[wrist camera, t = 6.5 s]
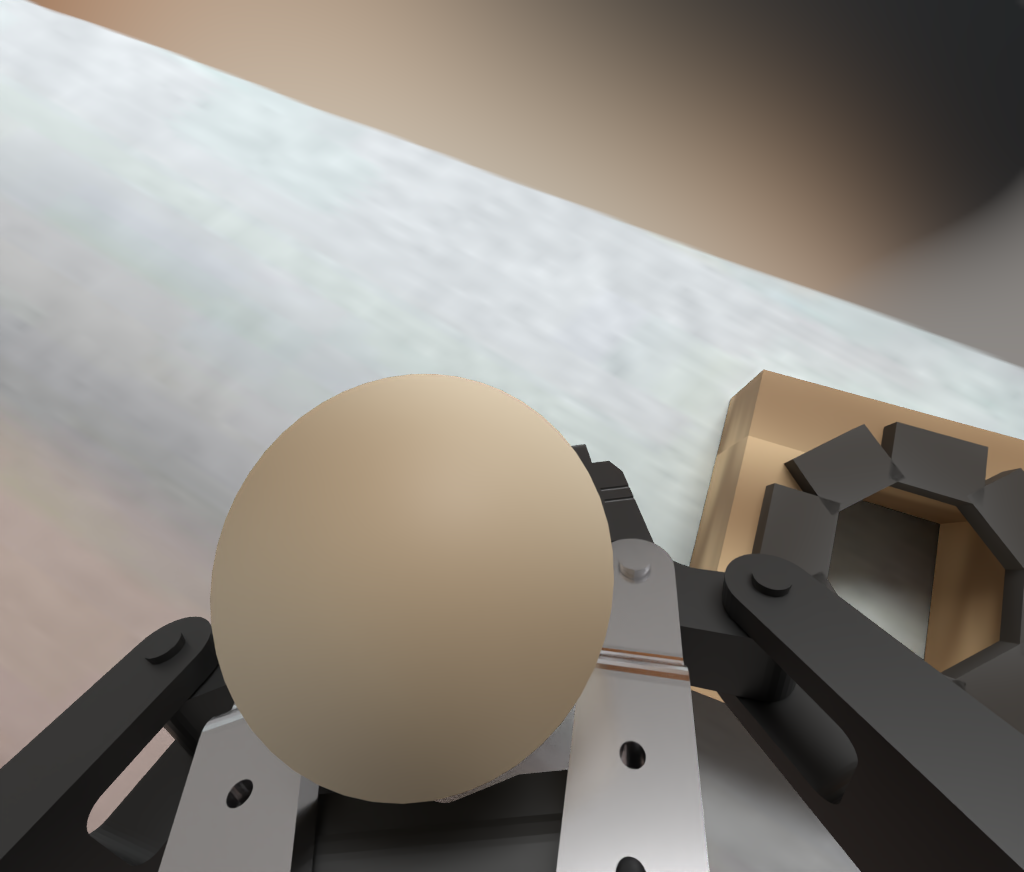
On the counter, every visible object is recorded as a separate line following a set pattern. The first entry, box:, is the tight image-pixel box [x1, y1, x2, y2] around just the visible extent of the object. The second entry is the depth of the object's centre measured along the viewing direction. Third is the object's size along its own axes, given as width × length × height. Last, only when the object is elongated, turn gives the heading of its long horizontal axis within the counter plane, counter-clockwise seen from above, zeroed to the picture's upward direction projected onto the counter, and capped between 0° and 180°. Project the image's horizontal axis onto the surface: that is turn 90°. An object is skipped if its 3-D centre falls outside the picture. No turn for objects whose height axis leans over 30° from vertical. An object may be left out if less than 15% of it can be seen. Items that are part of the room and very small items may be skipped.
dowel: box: [210, 374, 614, 804], centre depth 11 cm, size 4×4×14 cm
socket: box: [689, 370, 1024, 735], centre depth 15 cm, size 11×11×4 cm
